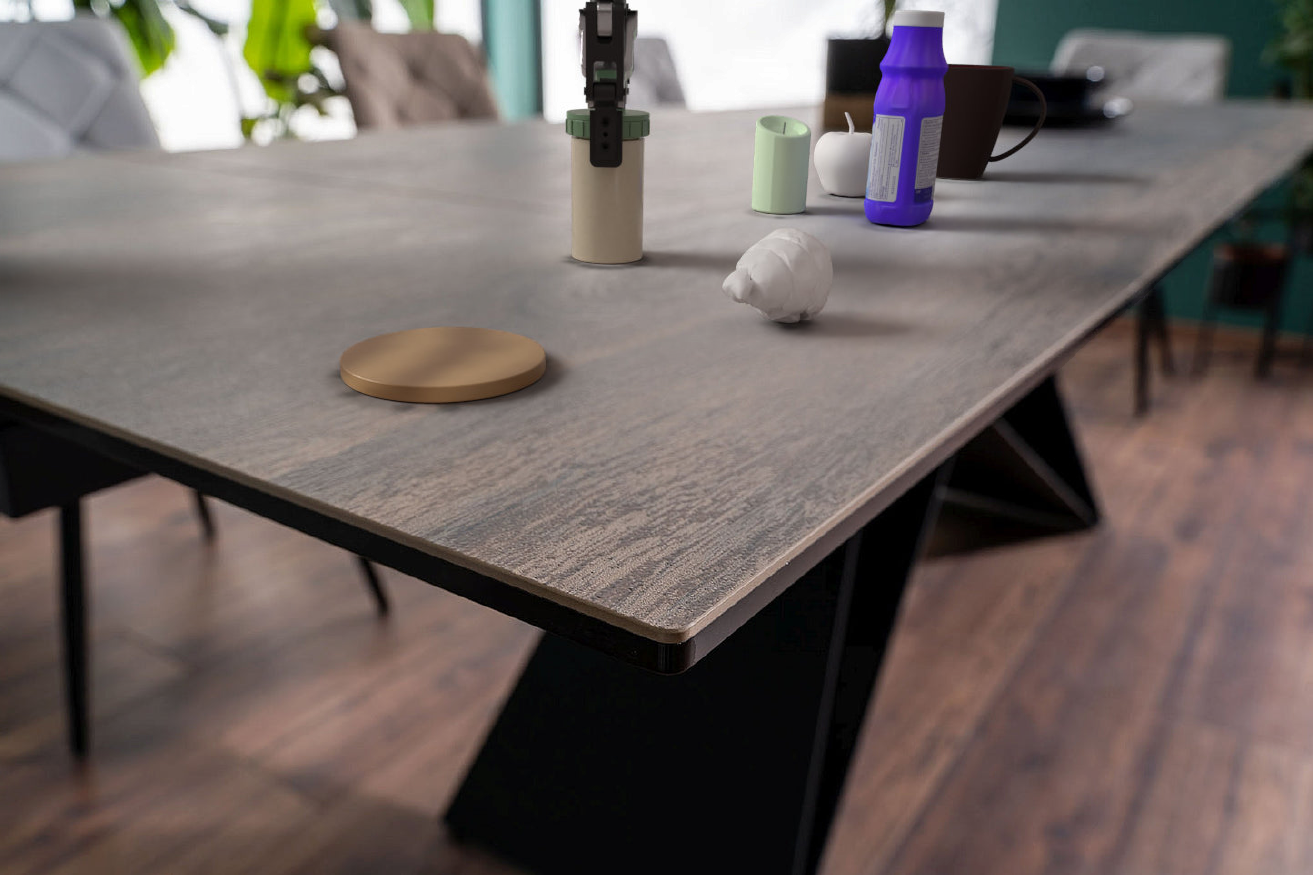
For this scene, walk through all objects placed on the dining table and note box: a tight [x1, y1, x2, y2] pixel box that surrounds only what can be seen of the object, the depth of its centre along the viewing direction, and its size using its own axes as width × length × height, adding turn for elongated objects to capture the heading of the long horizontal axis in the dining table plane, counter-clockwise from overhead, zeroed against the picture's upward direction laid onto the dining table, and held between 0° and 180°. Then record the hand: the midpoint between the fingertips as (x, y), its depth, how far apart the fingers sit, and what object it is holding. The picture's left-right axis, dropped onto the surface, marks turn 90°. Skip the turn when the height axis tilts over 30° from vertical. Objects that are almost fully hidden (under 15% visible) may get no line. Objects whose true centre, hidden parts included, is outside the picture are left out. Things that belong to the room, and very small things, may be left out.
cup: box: [936, 63, 1047, 181], centre depth 121 cm, size 10×14×12 cm
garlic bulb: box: [722, 227, 834, 324], centre depth 62 cm, size 6×6×5 cm
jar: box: [570, 135, 646, 265], centre depth 78 cm, size 5×5×10 cm
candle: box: [750, 114, 812, 215], centre depth 98 cm, size 5×5×8 cm
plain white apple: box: [813, 111, 872, 198], centre depth 108 cm, size 7×7×8 cm
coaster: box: [339, 326, 547, 404], centre depth 54 cm, size 10×10×1 cm
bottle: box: [863, 9, 949, 227], centre depth 92 cm, size 7×6×17 cm
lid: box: [565, 108, 651, 139], centre depth 76 cm, size 6×6×2 cm
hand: (608, 159), depth 77 cm, fingers open, 7 cm apart
